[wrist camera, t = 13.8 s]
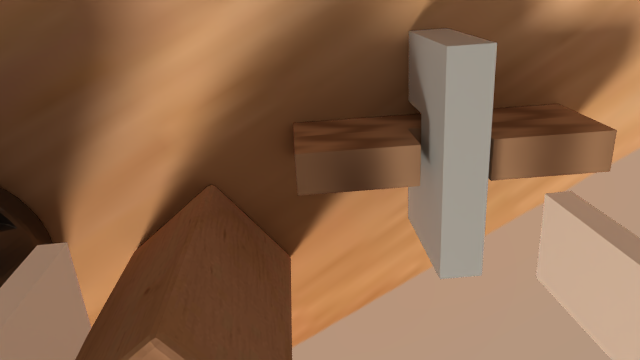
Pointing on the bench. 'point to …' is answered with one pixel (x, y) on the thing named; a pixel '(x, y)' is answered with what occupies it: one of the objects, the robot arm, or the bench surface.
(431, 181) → the notched plate
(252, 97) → the bench surface
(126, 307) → the wooden block
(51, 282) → the robot arm
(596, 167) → the slotted beam
